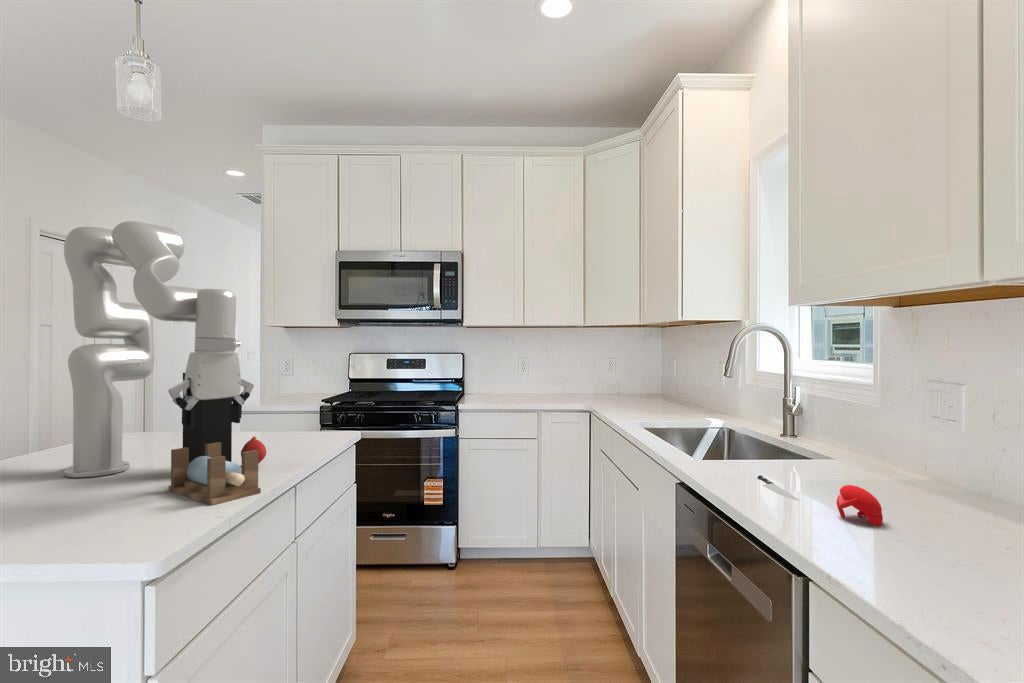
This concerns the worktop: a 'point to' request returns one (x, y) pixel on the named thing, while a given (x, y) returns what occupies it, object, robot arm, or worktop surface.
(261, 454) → the onion
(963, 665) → the worktop surface
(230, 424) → the tall black box
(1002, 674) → the worktop surface
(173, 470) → the holder
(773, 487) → the chef's knife
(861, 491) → the cap
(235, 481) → the blue rolling pin
